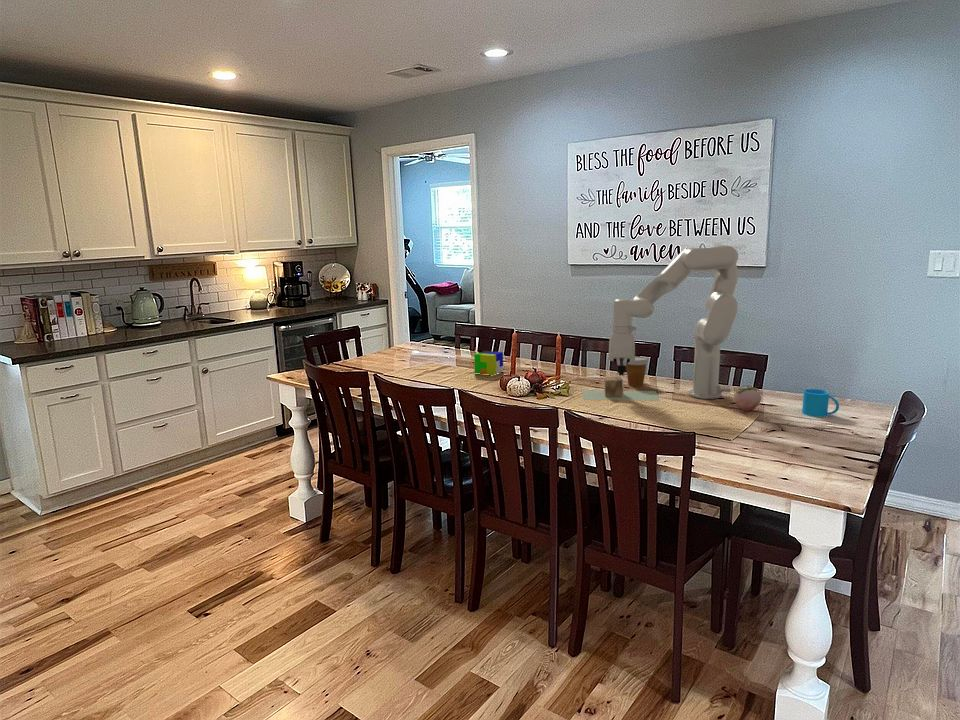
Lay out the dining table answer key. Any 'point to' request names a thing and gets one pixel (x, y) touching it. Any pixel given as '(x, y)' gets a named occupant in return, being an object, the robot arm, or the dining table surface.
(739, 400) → the decorative fruit
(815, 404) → the mug
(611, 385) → the walnut block
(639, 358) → the disposable coffee cup
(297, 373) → the dining table surface
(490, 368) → the puzzle toy
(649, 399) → the mat
